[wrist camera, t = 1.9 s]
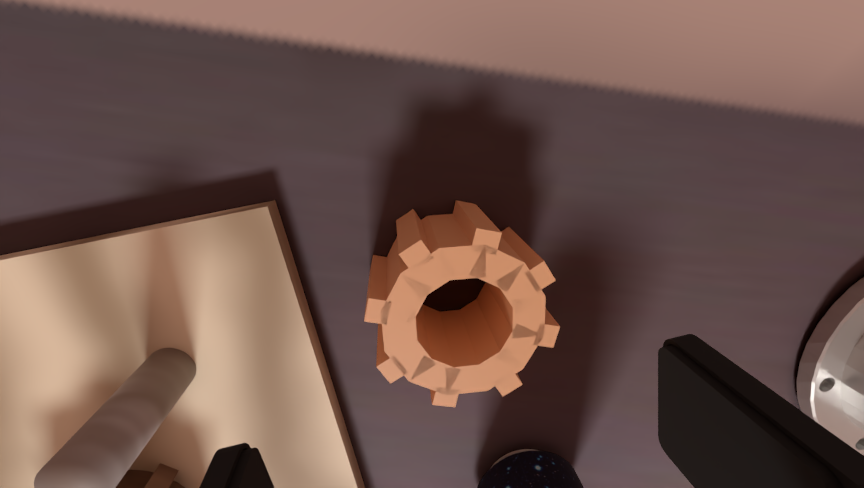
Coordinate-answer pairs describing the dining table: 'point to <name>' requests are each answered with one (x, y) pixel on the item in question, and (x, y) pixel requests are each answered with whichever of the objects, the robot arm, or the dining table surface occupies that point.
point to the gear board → (183, 307)
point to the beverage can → (530, 471)
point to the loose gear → (471, 325)
